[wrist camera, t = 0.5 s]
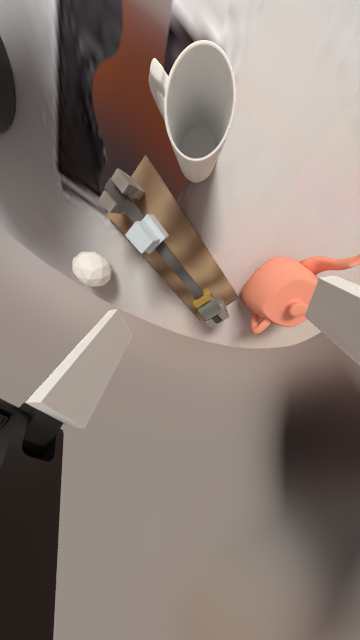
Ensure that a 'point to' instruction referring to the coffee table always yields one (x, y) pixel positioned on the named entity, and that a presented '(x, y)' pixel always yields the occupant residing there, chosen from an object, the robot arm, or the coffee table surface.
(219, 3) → the coffee table surface
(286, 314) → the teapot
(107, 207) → the din rail terminal board
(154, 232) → the white stepped block
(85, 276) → the geometric ball
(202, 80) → the mug
